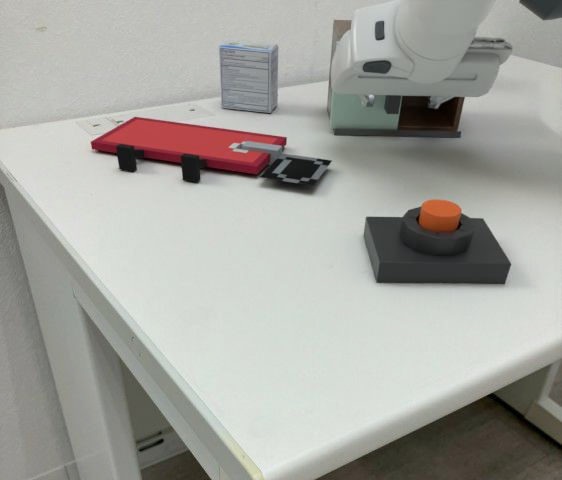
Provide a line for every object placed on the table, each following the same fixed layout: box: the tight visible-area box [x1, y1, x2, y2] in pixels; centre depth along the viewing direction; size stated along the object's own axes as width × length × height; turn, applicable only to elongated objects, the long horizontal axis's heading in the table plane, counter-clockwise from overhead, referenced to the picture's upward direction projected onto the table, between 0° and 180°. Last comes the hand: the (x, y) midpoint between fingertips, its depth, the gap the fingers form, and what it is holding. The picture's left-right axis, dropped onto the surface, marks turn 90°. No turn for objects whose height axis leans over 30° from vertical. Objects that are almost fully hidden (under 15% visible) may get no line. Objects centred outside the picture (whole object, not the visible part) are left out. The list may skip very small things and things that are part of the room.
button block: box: [363, 205, 512, 285], centre depth 56 cm, size 12×9×4 cm
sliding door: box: [329, 41, 402, 130], centre depth 79 cm, size 10×3×11 cm, turn 92°
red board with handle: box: [90, 116, 333, 186], centre depth 74 cm, size 30×3×15 cm
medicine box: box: [218, 39, 279, 114], centre depth 88 cm, size 8×4×9 cm, turn 76°
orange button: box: [419, 198, 462, 232], centre depth 55 cm, size 4×4×2 cm
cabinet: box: [326, 19, 466, 138], centre depth 84 cm, size 18×12×12 cm, turn 92°
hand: (399, 102), depth 80 cm, fingers open, 7 cm apart
